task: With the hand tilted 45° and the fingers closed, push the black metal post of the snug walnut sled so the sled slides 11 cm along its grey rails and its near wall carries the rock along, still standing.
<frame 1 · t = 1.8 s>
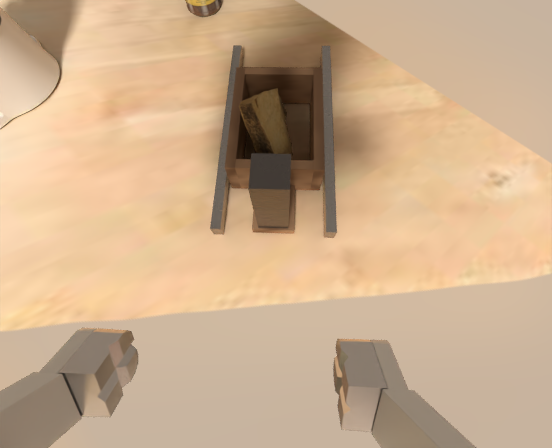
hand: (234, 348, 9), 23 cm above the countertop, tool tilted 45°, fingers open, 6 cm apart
sauce bottle: (204, 8, 50), on the countertop
rock: (277, 142, 40), on the countertop
sled: (275, 131, 33), point 6 cm above the countertop, slide at 0.0 cm
rails: (278, 135, 40), on the countertop
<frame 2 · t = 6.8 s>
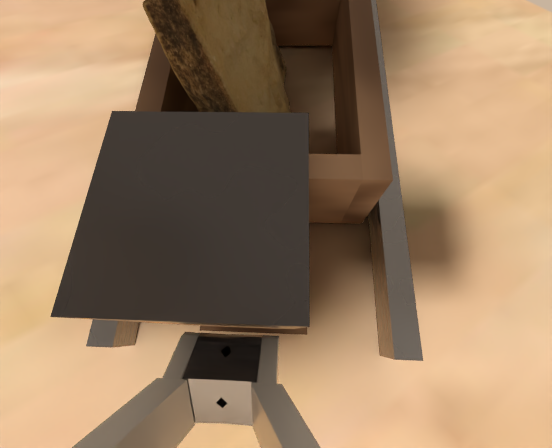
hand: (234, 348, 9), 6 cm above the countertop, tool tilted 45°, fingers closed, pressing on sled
rock: (268, 127, 19), on the countertop, touching sled
sled: (258, 79, 13), point 6 cm above the countertop, slide at 0.6 cm, touching rock, gripper
rails: (268, 112, 20), on the countertop
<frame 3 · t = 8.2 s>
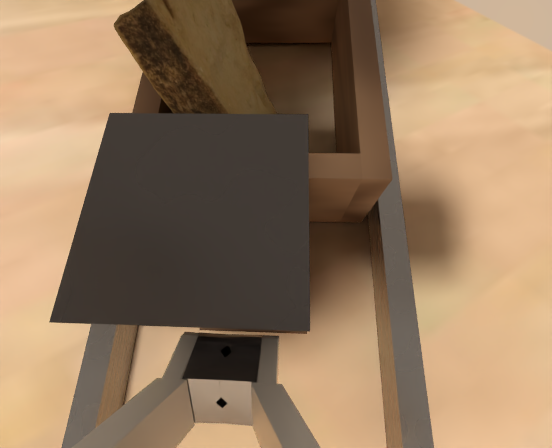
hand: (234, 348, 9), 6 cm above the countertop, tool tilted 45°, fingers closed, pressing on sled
rock: (249, 130, 19), on the countertop, touching sled
sled: (257, 77, 13), point 6 cm above the countertop, slide at 6.3 cm, touching rock, gripper
rails: (263, 184, 17), on the countertop
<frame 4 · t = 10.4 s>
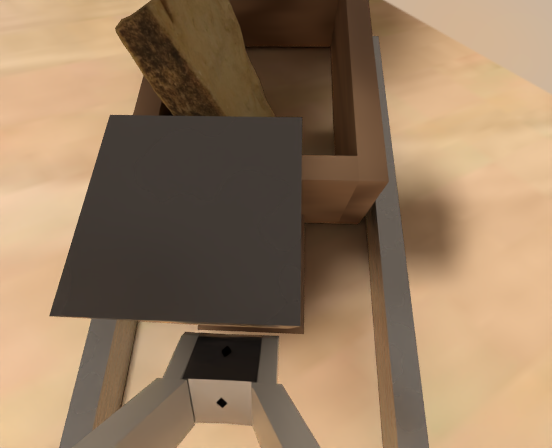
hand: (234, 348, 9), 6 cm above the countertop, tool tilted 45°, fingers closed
rock: (248, 132, 19), on the countertop
sled: (256, 81, 13), point 6 cm above the countertop, slide at 10.7 cm
rails: (258, 257, 16), on the countertop
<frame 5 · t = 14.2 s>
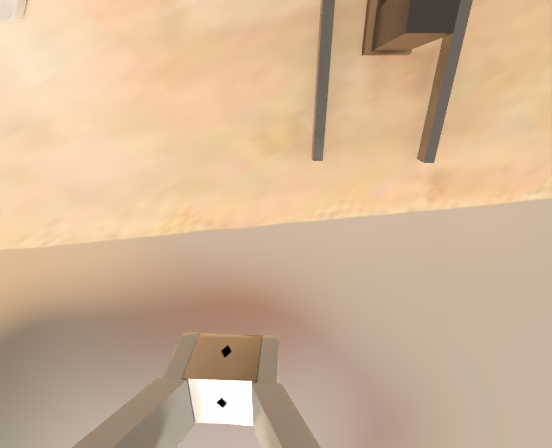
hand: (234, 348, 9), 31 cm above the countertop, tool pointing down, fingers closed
rails: (388, 18, 31), on the countertop
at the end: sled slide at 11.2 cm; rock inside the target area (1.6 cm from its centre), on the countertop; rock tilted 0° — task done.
